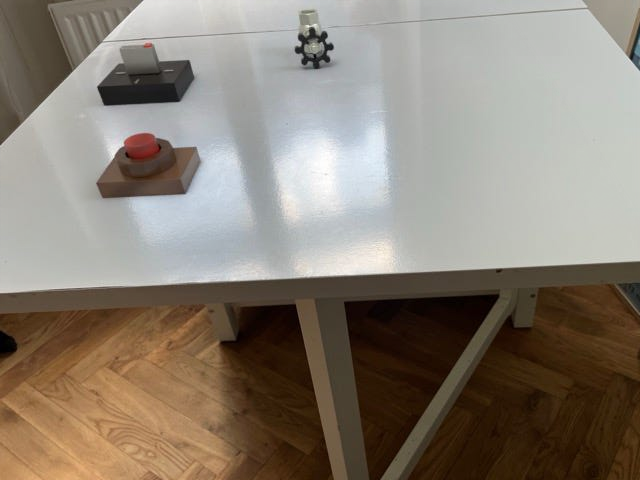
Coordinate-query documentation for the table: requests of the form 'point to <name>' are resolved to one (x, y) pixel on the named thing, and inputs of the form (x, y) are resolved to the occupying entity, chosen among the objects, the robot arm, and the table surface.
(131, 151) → the button
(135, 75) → the panel
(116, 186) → the button block
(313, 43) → the valve
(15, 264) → the table surface
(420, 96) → the table surface
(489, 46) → the table surface
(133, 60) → the hob knob
